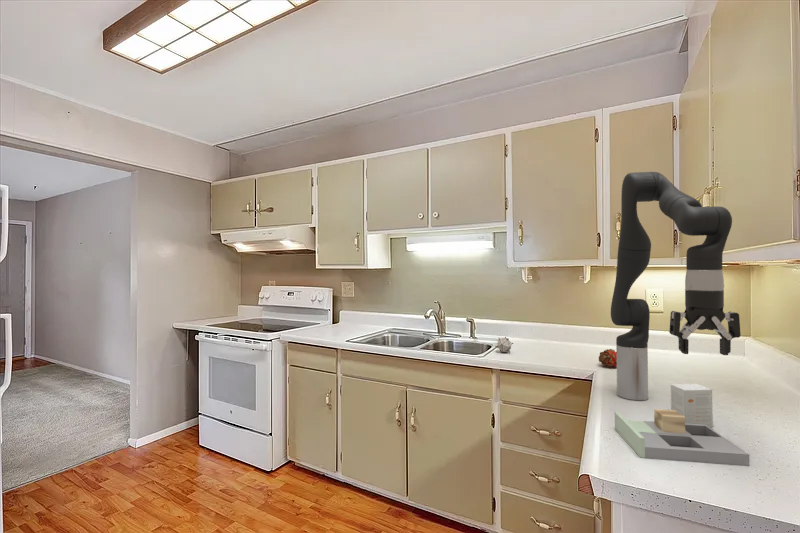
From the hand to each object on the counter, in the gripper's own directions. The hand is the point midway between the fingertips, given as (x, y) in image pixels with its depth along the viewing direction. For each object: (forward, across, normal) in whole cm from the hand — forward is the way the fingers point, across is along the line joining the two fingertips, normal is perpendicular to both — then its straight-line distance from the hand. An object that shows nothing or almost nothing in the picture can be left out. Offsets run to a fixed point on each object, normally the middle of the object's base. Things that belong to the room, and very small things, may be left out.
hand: (704, 354), depth 97 cm
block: (+20, +6, -3) cm, 21 cm away
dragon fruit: (+24, -2, -80) cm, 84 cm away
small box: (+23, -4, -14) cm, 27 cm away
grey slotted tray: (+23, +7, +1) cm, 24 cm away
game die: (+25, +42, -102) cm, 113 cm away
